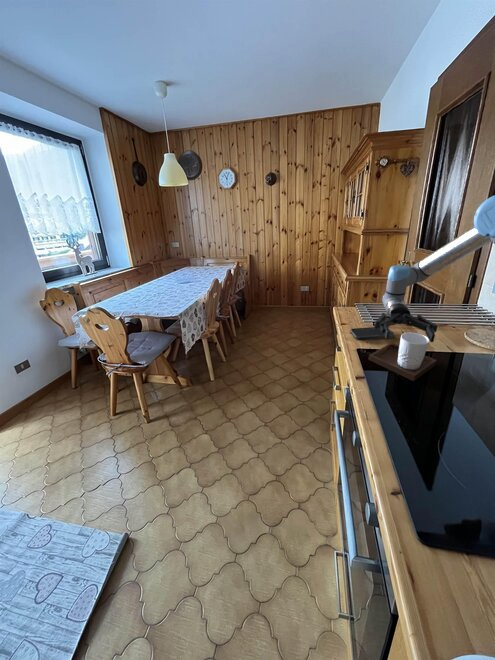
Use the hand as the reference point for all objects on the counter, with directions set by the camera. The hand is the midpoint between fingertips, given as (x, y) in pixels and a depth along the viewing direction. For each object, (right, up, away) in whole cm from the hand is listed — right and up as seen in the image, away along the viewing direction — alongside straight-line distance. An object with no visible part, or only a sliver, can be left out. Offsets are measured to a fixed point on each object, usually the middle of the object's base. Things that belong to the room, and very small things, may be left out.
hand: (410, 337), depth 95 cm
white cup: (-1, -9, -1) cm, 9 cm away
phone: (-4, +1, +20) cm, 20 cm away
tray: (-2, -9, +1) cm, 9 cm away
